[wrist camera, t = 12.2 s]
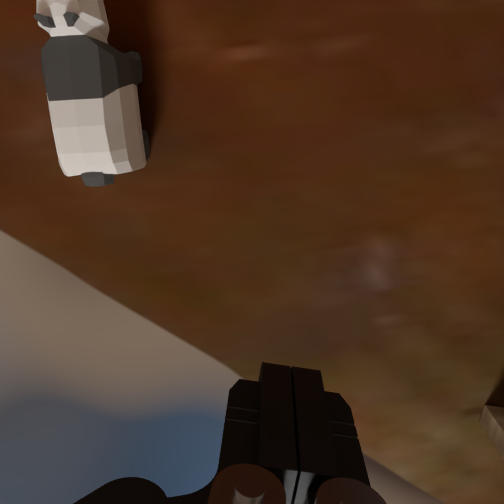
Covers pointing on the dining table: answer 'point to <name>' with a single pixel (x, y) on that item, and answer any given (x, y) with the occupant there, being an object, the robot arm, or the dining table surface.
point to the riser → (494, 426)
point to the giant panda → (91, 93)
